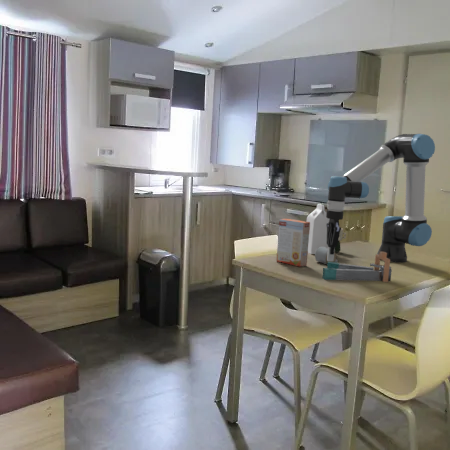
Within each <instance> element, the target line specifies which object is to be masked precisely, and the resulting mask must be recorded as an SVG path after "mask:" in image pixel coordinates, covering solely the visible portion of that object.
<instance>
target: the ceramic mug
mask: <svg viewBox="0 0 450 450" xmlns="http://www.w3.org/2000/svg"><path fill="white" fill-rule="evenodd" d="M327 253H328V249H327V248H325V247H319V248H318V249H317V250H316V252H315V255H314V258H315V261H316V262H317V263H320V264H321V263H322V264H324V265H327V263H328V262H336V263H338V259H337V252H334V261H327Z"/></svg>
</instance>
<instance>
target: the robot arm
mask: <svg viewBox="0 0 450 450" xmlns="http://www.w3.org/2000/svg"><path fill="white" fill-rule="evenodd" d="M435 151H436V145H435V141H434V139H433V138H431V136H429V134H424V133H403V134H402V133H401V134H399V135H396V136H395V137H392V138H391V139H389V140H387V141H386V142H384V143H383V144H381V146H379V148H378V150H377V151H376V152H374V153H373V154H371V155H369V156H368V157H367V158H366V159H364V160H363V161H362V162H359V163H358V164H357V165H356V166H354V167H353V168H351V169H349V171H347V172H346V173H345V174H343V175H341V176H339V175H332V176H331V177H330V178H329V179H330V180H329V181H328V184H327V190H328V195H327V202H326V205H327V206H326V207H327V208H326V209H327V210H326V213H327V214H326V218H328V219H329V223H327V224H326V225H327V244H328V253H327V261H334V251H335V247H337V244H338V239H339V234H340V230H341V228H342V227H341V226H340V220H343V219H344V210H345V203H346V201H345V200H346V198H348V199H349V198H350V199H351V198H352V199H366V198H367V197H368V196H369V193H370V187H369V184H368V183H367V182H366V181H365V182H364V181H363V180H365V179H366V178H368V177H369V176H371V175H372V174H373V173H375V172H376V171H377V170H379V169H380V168H382V167H383V166H385V165H386V164H387V163H393V162H394V161H395V160H398V159H403V160H402V161H403V164H404V165H405V166H406V172H405V173H406V176H405V177H406V179H405V203H404V205H405V208H404V209H405V211H404V213H405V214H404V215H403V216H401V215H400V216H398V215H397V216H396V215H394V216H391V215H390V216H389V215H388V216H387V215H386V216H385V217H384V219H383V223H382V235H381V243H380V246H379V248H378V251H377V253H376V254H379V252H386V253H387V257H386V258H388V259H390V263H397V264H398V263H403V264H404V263H406V262H407V261H408V254H407V250H406V244H408V245H410V246H414V247H422V246H425V245H426V244H427V243H428V242H429V241H430V240H431V237H432V232H433V231H432V227H431V226H430V225H429V224H428V222H427V221H428V218H427V217H426V216H425V195H426V194H425V193H426V191H425V189H426V166H427V165H428V164H429V163H430V159H431V158H432V157H433V155H434V154H435ZM380 261H383V260H381V259H380ZM383 262H384V261H383Z"/></svg>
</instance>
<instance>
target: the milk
mask: <svg viewBox="0 0 450 450" xmlns="http://www.w3.org/2000/svg"><path fill="white" fill-rule="evenodd" d="M326 214H327V211H326V210H325V205H324V204H321V203H317V205H316V208H315V209H314V210H313V211H311V213H309V214H308V215H307V217H306V221H305V222H310V231H309V243H308V254H309V253H310V254H309V255H311V254H315V252H316V250H317V249H318V248H319V247H325V248H327V249H328V244H327V225H326V224H327V223H329V219H328V218H326Z"/></svg>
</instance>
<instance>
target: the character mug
mask: <svg viewBox="0 0 450 450" xmlns="http://www.w3.org/2000/svg"><path fill="white" fill-rule="evenodd" d="M346 238H347V233H346V232H344V228H342V227H341V230H340V234H339V239H338V244H337V247H335V251H334V252H335V253H339V252H341V241H342V240H343V239H346Z"/></svg>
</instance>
